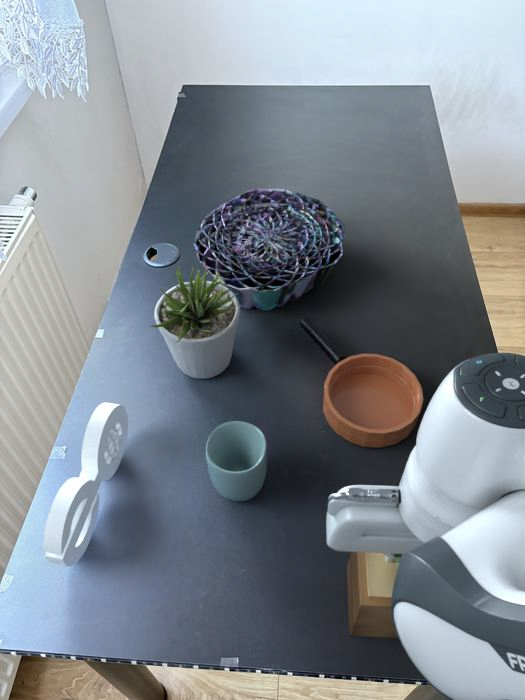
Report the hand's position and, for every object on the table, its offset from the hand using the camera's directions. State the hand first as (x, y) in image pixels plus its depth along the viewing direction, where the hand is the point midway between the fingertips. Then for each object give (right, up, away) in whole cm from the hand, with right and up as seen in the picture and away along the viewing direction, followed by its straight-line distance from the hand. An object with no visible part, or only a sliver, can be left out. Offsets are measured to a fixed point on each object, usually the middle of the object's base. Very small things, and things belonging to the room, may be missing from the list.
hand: (421, 556), depth 61 cm
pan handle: (-7, +22, +35) cm, 41 cm away
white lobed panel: (-39, +1, +21) cm, 44 cm away
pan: (0, +12, +30) cm, 32 cm away
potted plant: (-26, +19, +36) cm, 48 cm away
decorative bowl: (-15, +36, +50) cm, 63 cm away
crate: (0, -10, +11) cm, 15 cm away
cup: (-19, +2, +22) cm, 29 cm away
